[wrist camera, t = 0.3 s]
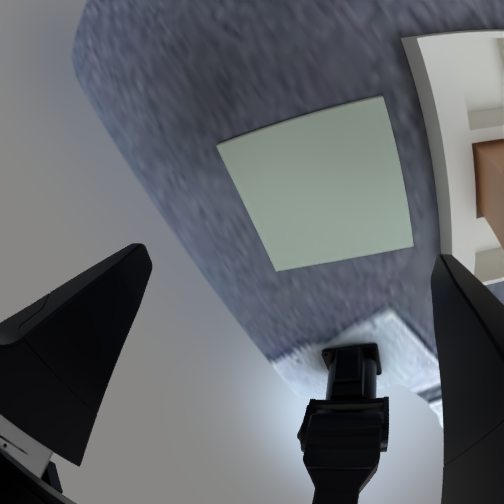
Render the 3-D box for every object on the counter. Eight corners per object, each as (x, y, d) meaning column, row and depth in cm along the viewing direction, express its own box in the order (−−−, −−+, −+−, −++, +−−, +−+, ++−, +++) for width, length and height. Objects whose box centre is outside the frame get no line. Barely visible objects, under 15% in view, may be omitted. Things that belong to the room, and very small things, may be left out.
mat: (412, 241, 23) (413, 246, 23) (277, 266, 28) (276, 271, 28) (381, 95, 17) (382, 96, 17) (218, 143, 22) (216, 146, 22)
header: (524, 241, 20) (542, 270, 17) (440, 259, 23) (451, 292, 20) (510, 29, 10) (541, 32, 7) (400, 38, 14) (416, 37, 11)
